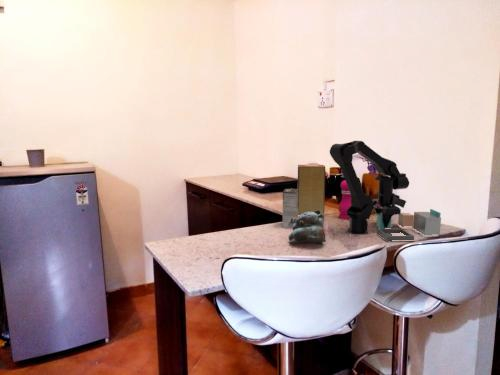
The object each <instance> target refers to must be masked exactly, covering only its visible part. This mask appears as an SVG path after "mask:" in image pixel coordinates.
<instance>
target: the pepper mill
mask: <svg viewBox="0 0 500 375" xmlns="http://www.w3.org/2000/svg"><path fill="white" fill-rule="evenodd" d="M340 189H341V194H342V198H341V201H340V203H339V205H338V211H339V215H338V218H339V219H342V220H350V216H347V212H346V211H347V210H348V209H349V207H350V206H351V197H352V196H351V193H350V190H349V188H348V185H347V183H346V180H345V179H344V180H342V181H341V183H340Z"/></svg>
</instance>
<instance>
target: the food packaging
mask: <svg viewBox="0 0 500 375" xmlns="http://www.w3.org/2000/svg"><path fill="white" fill-rule="evenodd" d="M296 189H299V200H298V215H301V214H302V213H305V212H315V211H318V210H319V211H320V213H321V214H324V215H325V203H326V202H325V199H326V198H325V196H326V195H325V194H326V165H324V164H298V165H297V188H296Z"/></svg>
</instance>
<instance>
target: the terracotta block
mask: <svg viewBox="0 0 500 375" xmlns="http://www.w3.org/2000/svg"><path fill="white" fill-rule="evenodd" d="M397 218H398V219H397V220H398V221H397V225H398V224H399V225H401V226H402V227H404V226H413V221H414V214H412V213H410V212H401V214H398V217H397Z"/></svg>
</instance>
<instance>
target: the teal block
mask: <svg viewBox="0 0 500 375" xmlns="http://www.w3.org/2000/svg"><path fill="white" fill-rule="evenodd" d="M377 227H379V228H380V229H385V228H391V229H392V218H391V219H390V222H389V224H388V227H384V224H383V220H382V217H381V214H377V215H376V228H377ZM379 228H378V229H379Z"/></svg>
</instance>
